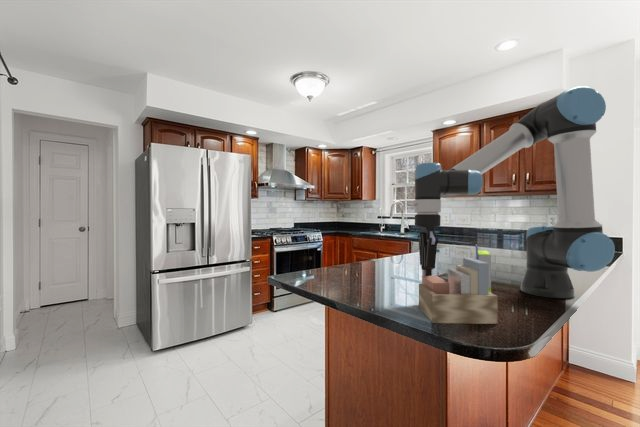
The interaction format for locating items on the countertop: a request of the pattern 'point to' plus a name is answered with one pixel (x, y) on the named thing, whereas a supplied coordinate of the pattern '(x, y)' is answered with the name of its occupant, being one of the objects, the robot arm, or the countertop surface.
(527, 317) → the countertop surface
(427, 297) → the wooden crate
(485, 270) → the shelved books
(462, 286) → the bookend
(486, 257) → the box
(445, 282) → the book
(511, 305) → the countertop surface
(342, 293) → the countertop surface
